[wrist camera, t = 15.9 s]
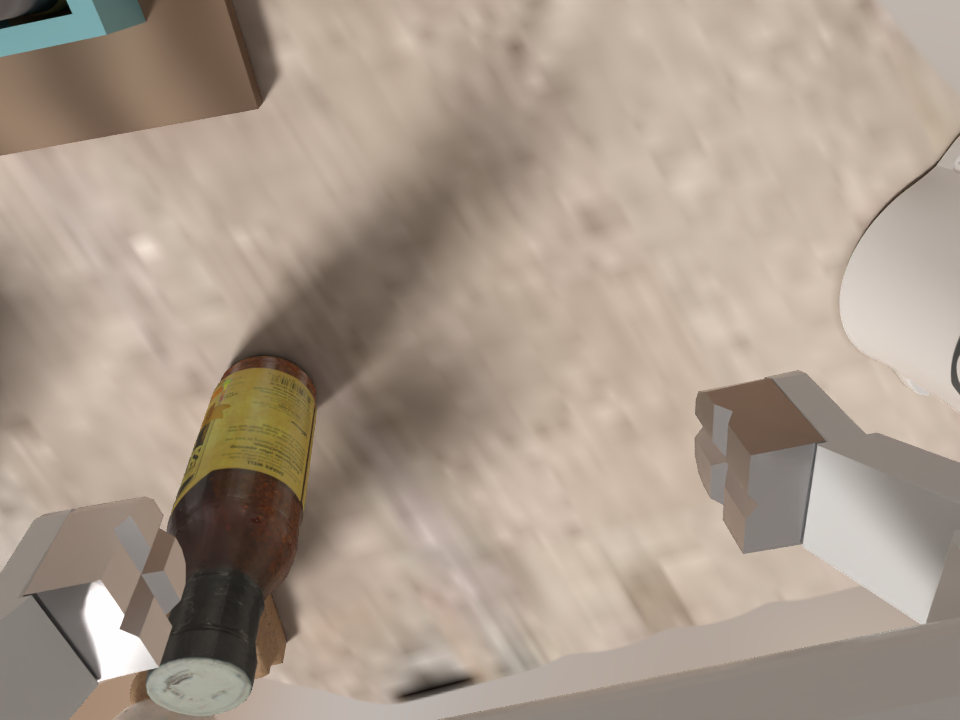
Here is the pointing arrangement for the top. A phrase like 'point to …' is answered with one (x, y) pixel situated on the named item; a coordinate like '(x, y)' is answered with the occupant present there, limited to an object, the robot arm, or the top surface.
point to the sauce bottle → (235, 531)
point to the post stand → (124, 74)
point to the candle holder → (270, 648)
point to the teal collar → (71, 25)
